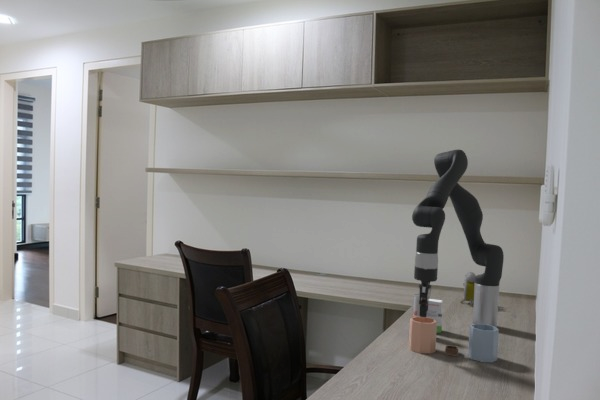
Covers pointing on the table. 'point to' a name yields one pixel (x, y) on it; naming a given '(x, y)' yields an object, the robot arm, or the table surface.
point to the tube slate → (483, 342)
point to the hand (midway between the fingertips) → (423, 313)
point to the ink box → (436, 312)
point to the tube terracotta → (422, 334)
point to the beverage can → (417, 306)
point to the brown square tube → (451, 350)
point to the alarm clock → (469, 287)
